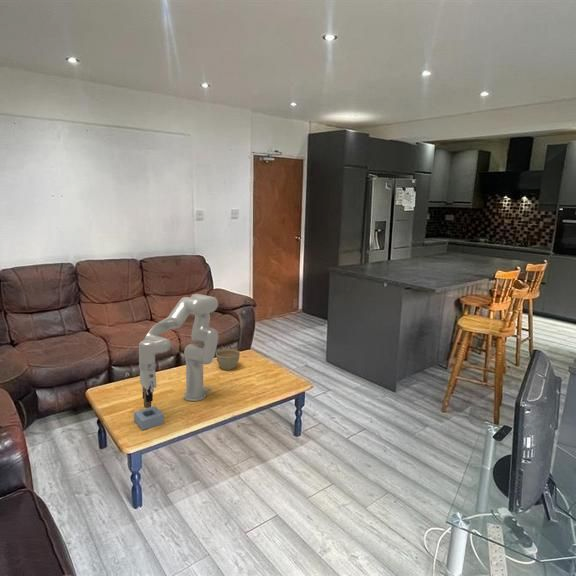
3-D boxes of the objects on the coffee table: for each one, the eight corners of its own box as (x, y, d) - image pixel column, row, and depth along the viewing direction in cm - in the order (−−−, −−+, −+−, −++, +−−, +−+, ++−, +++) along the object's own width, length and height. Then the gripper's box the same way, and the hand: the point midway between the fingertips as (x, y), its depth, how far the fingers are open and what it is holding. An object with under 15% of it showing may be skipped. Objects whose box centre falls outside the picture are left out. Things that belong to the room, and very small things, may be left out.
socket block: (155, 414, 217) (154, 405, 216) (163, 423, 209) (163, 414, 208) (134, 420, 210) (133, 411, 209) (142, 430, 202) (142, 421, 201)
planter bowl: (210, 367, 281) (210, 352, 278) (228, 361, 293) (228, 346, 291) (226, 374, 271) (226, 359, 268) (244, 367, 283) (244, 352, 281)
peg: (149, 403, 210) (149, 381, 207) (152, 406, 207) (152, 384, 205) (142, 405, 207) (142, 383, 205) (145, 408, 205) (145, 386, 202)
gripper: (161, 369, 199) (161, 404, 203) (148, 358, 212) (148, 391, 215) (146, 372, 195) (146, 408, 198) (133, 361, 207) (134, 395, 210)
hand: (147, 399), depth 207 cm, fingers closed on peg, 3 cm apart
